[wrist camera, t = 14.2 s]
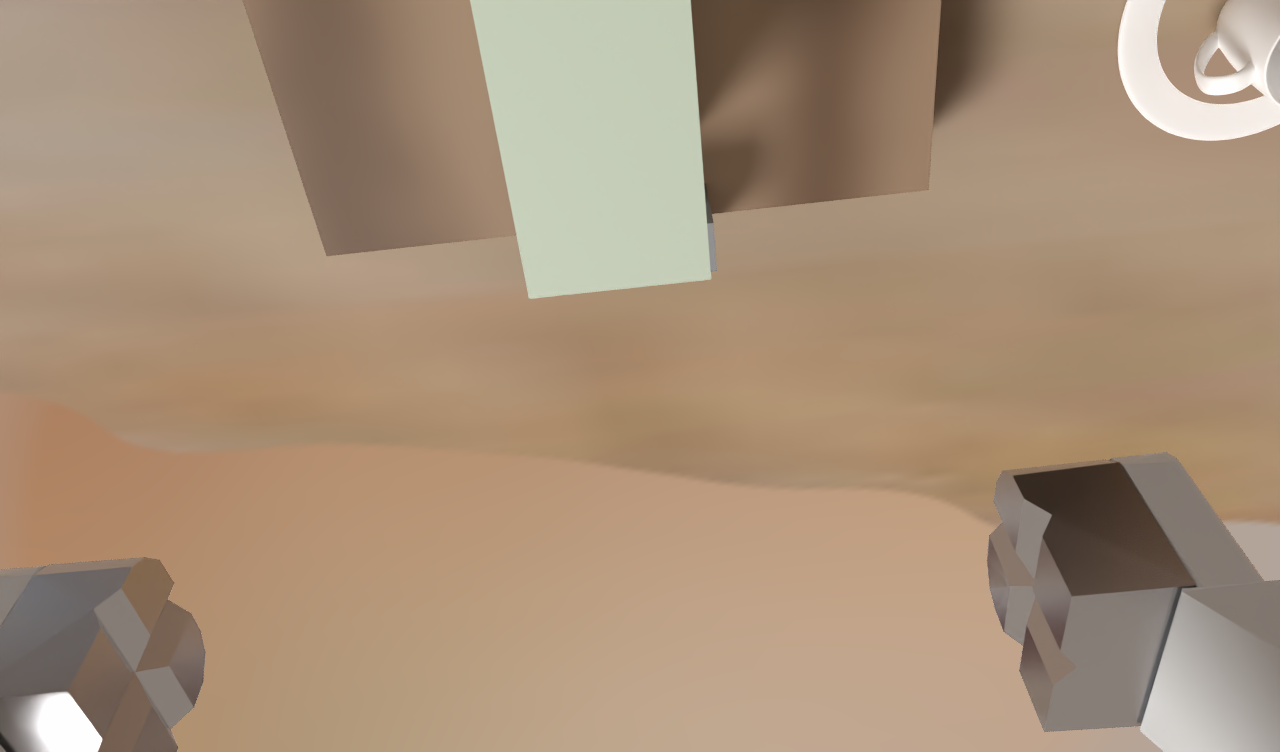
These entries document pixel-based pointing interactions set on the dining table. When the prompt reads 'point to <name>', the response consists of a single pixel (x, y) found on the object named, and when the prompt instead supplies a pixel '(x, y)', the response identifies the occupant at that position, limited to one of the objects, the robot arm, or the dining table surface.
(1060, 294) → the dining table surface
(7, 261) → the dining table surface
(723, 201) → the stand
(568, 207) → the green block
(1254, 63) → the teacup and saucer
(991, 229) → the dining table surface
